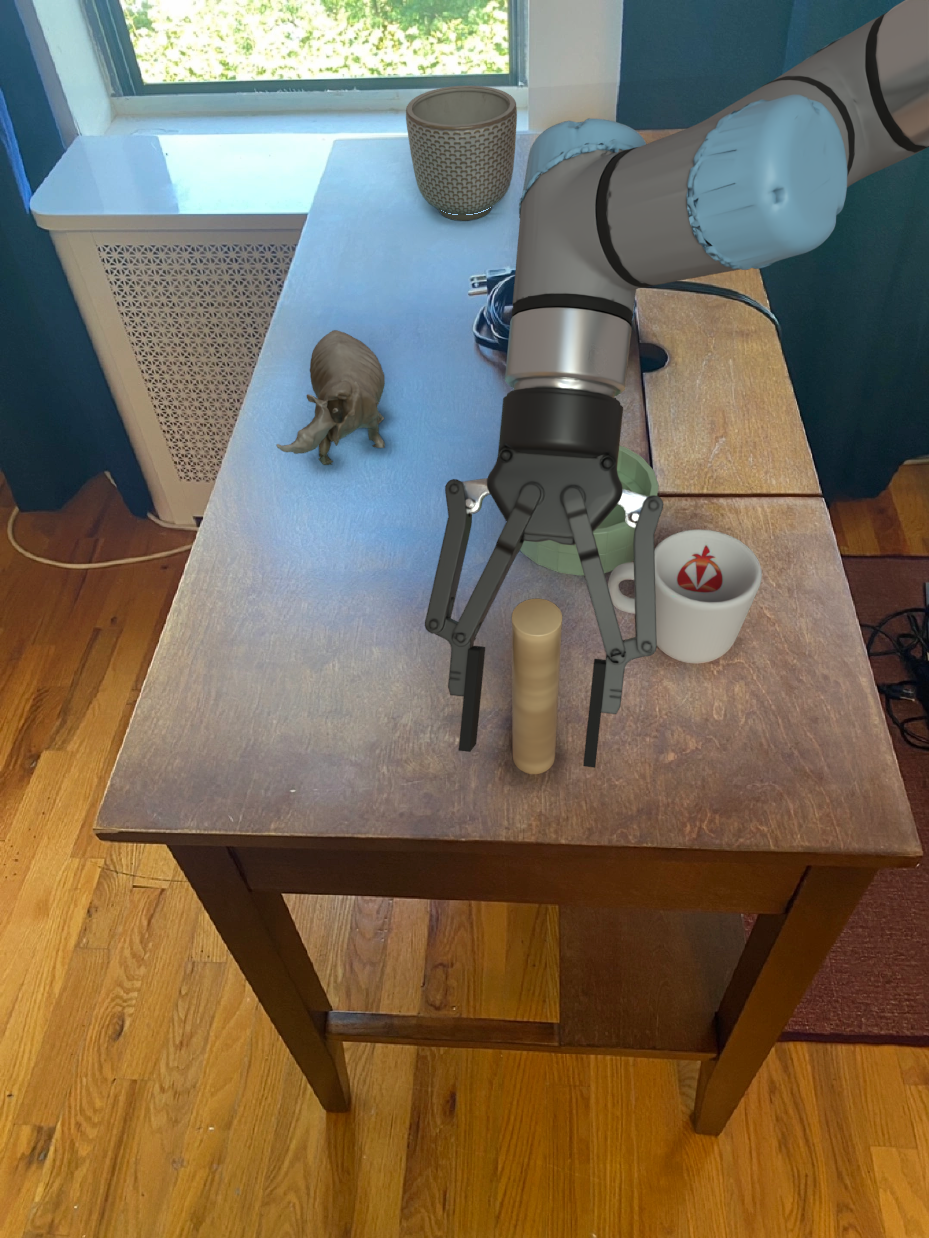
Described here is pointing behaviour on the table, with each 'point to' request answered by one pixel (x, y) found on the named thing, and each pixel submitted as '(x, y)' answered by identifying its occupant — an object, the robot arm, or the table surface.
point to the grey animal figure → (341, 395)
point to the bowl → (602, 525)
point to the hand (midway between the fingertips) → (528, 754)
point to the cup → (697, 592)
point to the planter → (462, 148)
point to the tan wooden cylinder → (535, 683)
